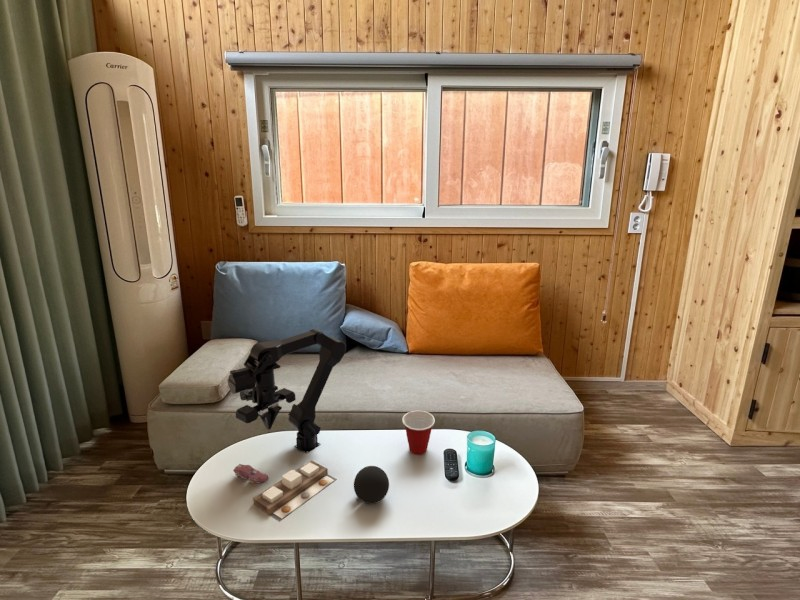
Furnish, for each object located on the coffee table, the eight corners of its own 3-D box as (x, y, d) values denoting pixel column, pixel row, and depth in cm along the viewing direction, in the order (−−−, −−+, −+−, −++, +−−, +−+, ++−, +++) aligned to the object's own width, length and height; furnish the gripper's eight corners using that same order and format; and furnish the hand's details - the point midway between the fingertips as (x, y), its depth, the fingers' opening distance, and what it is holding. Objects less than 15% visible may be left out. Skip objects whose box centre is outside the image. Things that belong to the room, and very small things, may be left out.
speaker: (347, 506, 130) (347, 475, 128) (363, 484, 139) (363, 455, 137) (380, 515, 127) (380, 484, 124) (394, 493, 136) (394, 463, 133)
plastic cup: (399, 458, 152) (399, 425, 149) (404, 440, 162) (404, 409, 159) (432, 461, 151) (433, 428, 147) (435, 442, 161) (436, 411, 158)
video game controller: (237, 481, 143) (228, 469, 138) (247, 468, 145) (237, 456, 141) (262, 491, 138) (253, 479, 134) (271, 477, 141) (262, 465, 137)
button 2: (310, 470, 144) (310, 462, 144) (319, 475, 142) (319, 467, 141) (300, 477, 141) (300, 468, 140) (309, 482, 139) (309, 473, 138)
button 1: (274, 494, 134) (273, 485, 133) (283, 500, 131) (282, 491, 130) (262, 502, 130) (262, 493, 130) (272, 508, 128) (271, 499, 127)
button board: (311, 467, 147) (311, 460, 146) (337, 480, 141) (337, 473, 140) (253, 506, 130) (253, 498, 129) (279, 523, 124) (278, 515, 123)
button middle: (292, 478, 139) (292, 469, 138) (302, 483, 136) (301, 474, 135) (282, 485, 135) (281, 476, 135) (291, 490, 133) (290, 481, 132)
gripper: (272, 367, 154) (275, 409, 158) (222, 387, 139) (227, 433, 144) (295, 376, 147) (297, 419, 152) (245, 398, 133) (249, 446, 137)
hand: (268, 429), depth 146 cm, fingers closed
